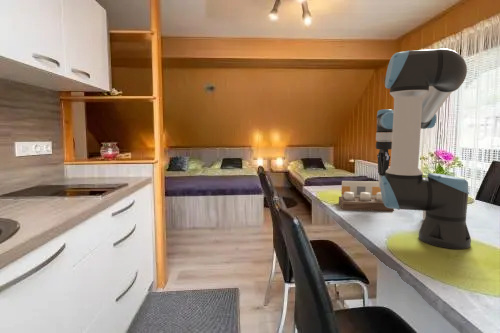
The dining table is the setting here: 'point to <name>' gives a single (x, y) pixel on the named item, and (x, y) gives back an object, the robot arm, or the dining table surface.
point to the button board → (363, 204)
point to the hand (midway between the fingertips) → (382, 187)
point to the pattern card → (361, 187)
